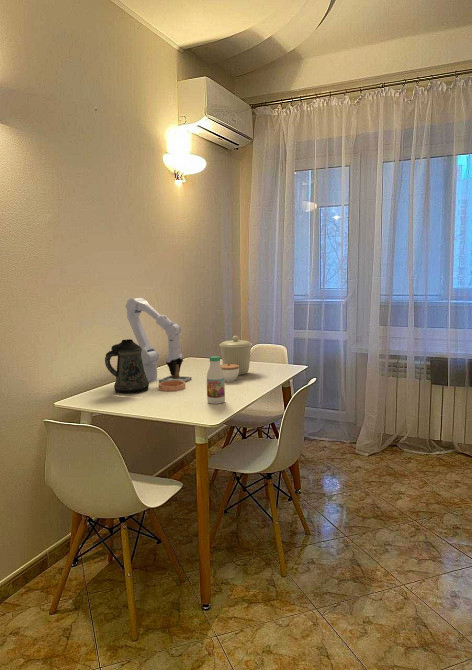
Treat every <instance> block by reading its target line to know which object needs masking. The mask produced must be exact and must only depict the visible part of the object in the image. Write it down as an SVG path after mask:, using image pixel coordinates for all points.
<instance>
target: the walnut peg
mask: <svg viewBox="0 0 472 670" xmlns="http://www.w3.org/2000/svg"><path fill="white" fill-rule="evenodd" d="M170 376H172V379H178V378H179V376H180V372H179V364H176V371H175V375H171V374H170Z"/></svg>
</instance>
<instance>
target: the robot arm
mask: <svg viewBox="0 0 472 670" xmlns="http://www.w3.org/2000/svg"><path fill="white" fill-rule="evenodd" d="M125 309H126V316H127V317H126V318H127V320H128V323H129V325H130V327H131V329H132V332H133V335H134V336H135V339H136V342H137V345H139V346H140V347H141V348H142V352H141V357H142V362H143V367H144V371H145V374H146V378H147V380H148V382H155V381H159V380H160V379H162V378H161V377H158V366H157V365H158V360H159V358H160V354H159V352H158V351H157V350H156V348H155V346H153V345H152V344H151V343H150V341H149V339H148V337H147V334H146V331H145V329H144V327H143V324H142V322H141V320H140V315H141V313H142V312H145V313H146V314H148V315H149V316H150V317H151V318H153V319H154V320H155V322H156V323H155V324H157V325H158V326H159V327H161V328H162V329H163V330H164V331H165V334H166V335H167V343H168V356H167V357H166V358H165V364H166V365H167V367H168V370H169V374H170V376H171V375H175V371H176V364H179V373H180V371H181V366H182V363H183V362H184V354H183V353H181V348H180V345H181V344H180V343H181V342H180V341H181V340H180V334H181V332H182V328H181V326H180V324H178V323H175V322H174V321H172V320H170V318H168V316H167V315H166V314H160V313H159V312H158V311H157V310H156V309H155V308H154V307H153V306H152V305H151V304H149V301H147V299H145V298H143V297H137V298H129V299H128V300H127V301H126V304H125Z"/></svg>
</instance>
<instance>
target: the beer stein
mask: <svg viewBox="0 0 472 670" xmlns="http://www.w3.org/2000/svg"><path fill="white" fill-rule="evenodd" d="M141 352H142V348H141V347H140V346H139V344H138V343H136V342H135V341H133V339H130V338H129V339H128V338H127V339H123V340H121V342H119V343H117V344H116V343H115V344H113V345H112V346H111V348H110V350H109V351H108V352H107V353H106V354H105V357H104V364H105V368H106V369H107V370H108V372H109V373H111V375H112V376H114V377H116V378H115V382H114V385H113V387H114V392H115V393H116V394H122V395H123V394H124V395H133V394H139V393H140V394H141V393H144V392H147V391H148V390H149V387H150V381H148V380H147V378H146V374H145V371H144V367H143V362H142V357H141ZM112 357H117V363H116V369H115V368H114V367H113V366H112V364H111V359H112Z"/></svg>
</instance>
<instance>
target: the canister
mask: <svg viewBox="0 0 472 670" xmlns="http://www.w3.org/2000/svg"><path fill="white" fill-rule="evenodd" d="M218 345H219V348H220V354H221V360H222V361H221V362H222V365H223V364H228V363H230V364H237V365H239V374H238V376H242V375H247V374H248V372H249V370H250V362H251V350H252V346H253V343H252V342H250V341H249V340H243V339H242V340H241V339H240V338H239V336H238V335H234V336H232V340H226V341H222V342H221V343H220V344H218Z"/></svg>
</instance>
